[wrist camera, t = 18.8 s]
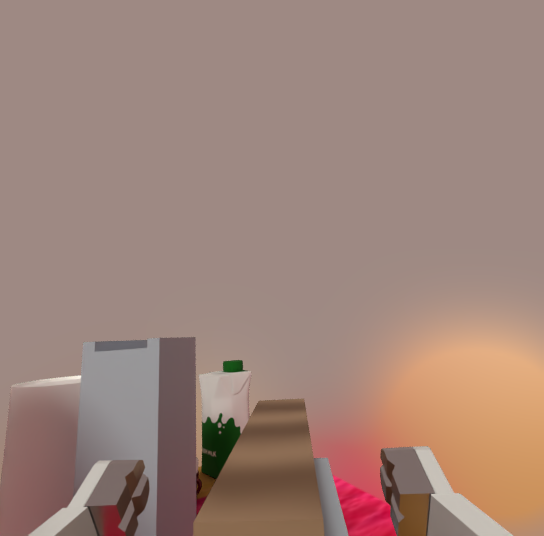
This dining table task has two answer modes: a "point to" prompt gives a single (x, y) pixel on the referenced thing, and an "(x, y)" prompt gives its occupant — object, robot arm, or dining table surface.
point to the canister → (39, 453)
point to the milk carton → (223, 413)
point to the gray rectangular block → (329, 500)
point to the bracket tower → (143, 423)
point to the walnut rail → (266, 479)
